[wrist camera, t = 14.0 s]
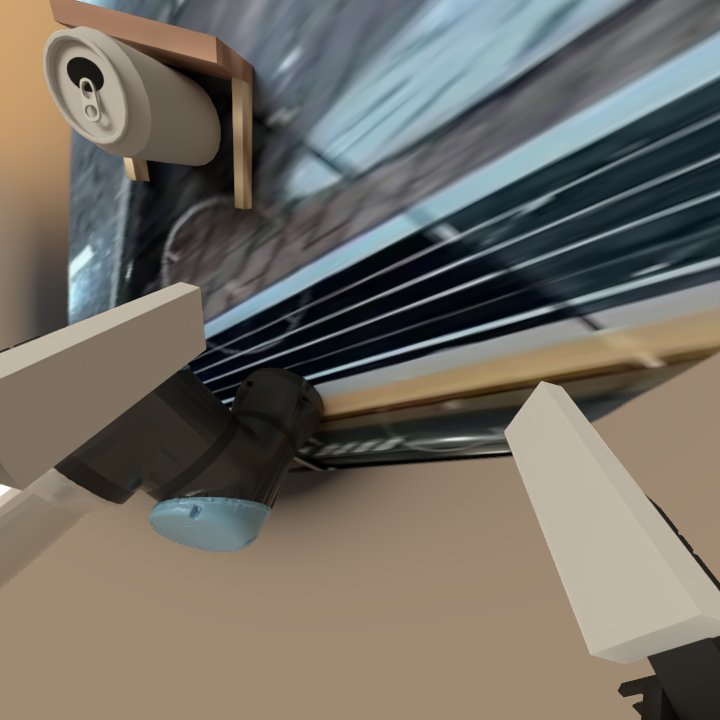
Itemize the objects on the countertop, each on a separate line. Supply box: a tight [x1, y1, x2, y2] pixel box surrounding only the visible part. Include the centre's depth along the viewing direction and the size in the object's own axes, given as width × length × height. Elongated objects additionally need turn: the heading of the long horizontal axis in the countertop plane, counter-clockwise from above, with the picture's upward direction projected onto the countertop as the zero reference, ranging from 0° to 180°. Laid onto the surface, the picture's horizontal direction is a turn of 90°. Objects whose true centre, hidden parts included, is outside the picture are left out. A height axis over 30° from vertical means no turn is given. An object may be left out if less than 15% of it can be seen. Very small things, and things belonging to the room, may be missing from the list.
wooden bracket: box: [50, 0, 252, 209], centre depth 28 cm, size 12×14×6 cm
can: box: [43, 26, 221, 166], centre depth 25 cm, size 8×8×12 cm
